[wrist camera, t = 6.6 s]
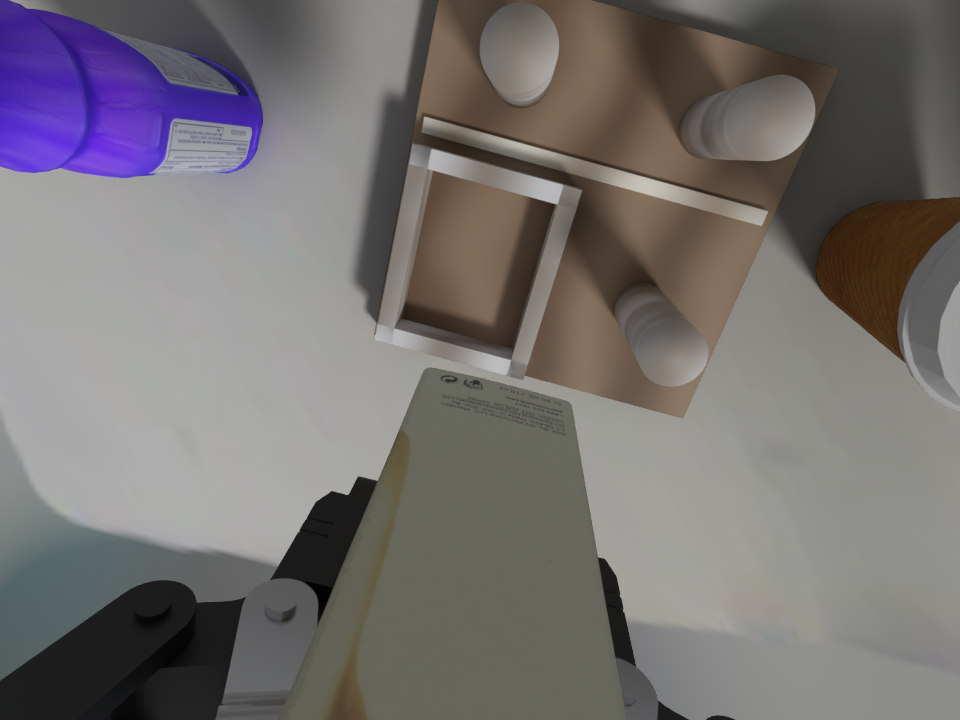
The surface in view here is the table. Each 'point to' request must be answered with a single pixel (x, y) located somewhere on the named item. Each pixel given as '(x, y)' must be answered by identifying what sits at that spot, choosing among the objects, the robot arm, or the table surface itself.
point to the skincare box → (469, 573)
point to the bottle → (116, 102)
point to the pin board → (589, 193)
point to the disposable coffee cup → (902, 284)
